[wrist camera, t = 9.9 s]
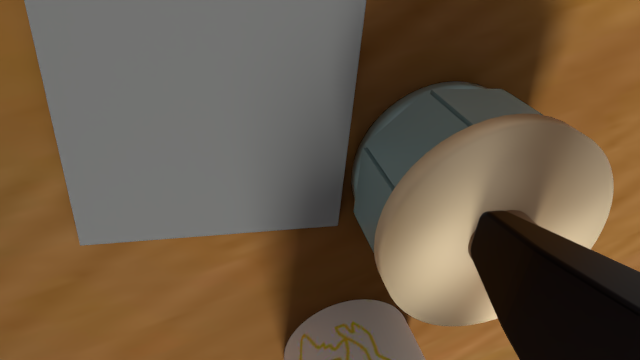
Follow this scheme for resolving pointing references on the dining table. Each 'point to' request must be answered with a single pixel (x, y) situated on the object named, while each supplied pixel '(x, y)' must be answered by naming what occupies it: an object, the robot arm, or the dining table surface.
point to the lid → (485, 208)
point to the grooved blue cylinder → (417, 138)
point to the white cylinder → (354, 334)
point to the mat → (199, 112)
